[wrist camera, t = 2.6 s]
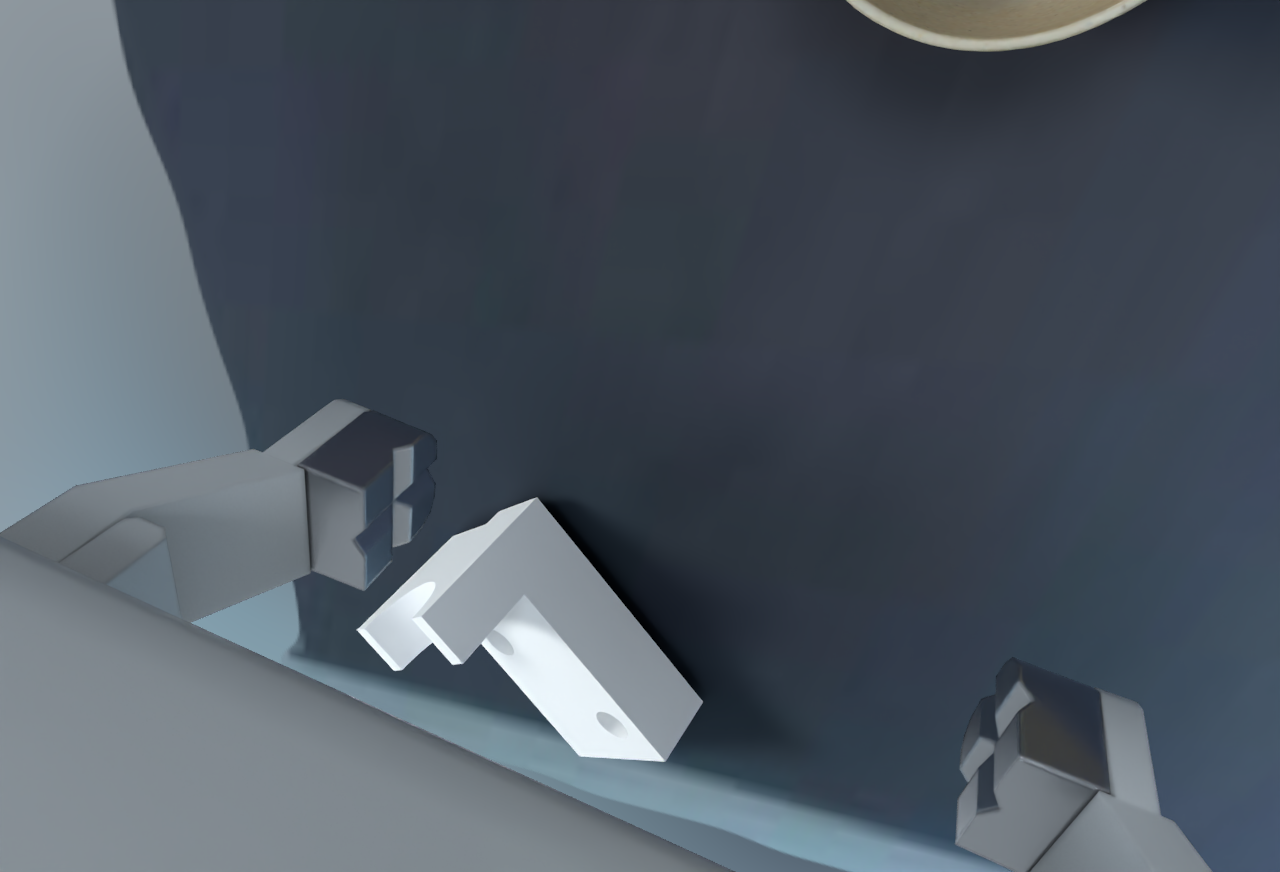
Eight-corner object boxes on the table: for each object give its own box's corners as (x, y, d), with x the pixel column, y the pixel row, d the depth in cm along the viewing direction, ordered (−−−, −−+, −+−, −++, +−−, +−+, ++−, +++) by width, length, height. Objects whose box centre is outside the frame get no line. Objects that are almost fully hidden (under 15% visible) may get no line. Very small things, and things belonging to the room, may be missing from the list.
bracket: (465, 523, 44) (356, 630, 40) (537, 497, 39) (421, 616, 34) (617, 703, 47) (532, 822, 42) (703, 701, 42) (617, 837, 37)
